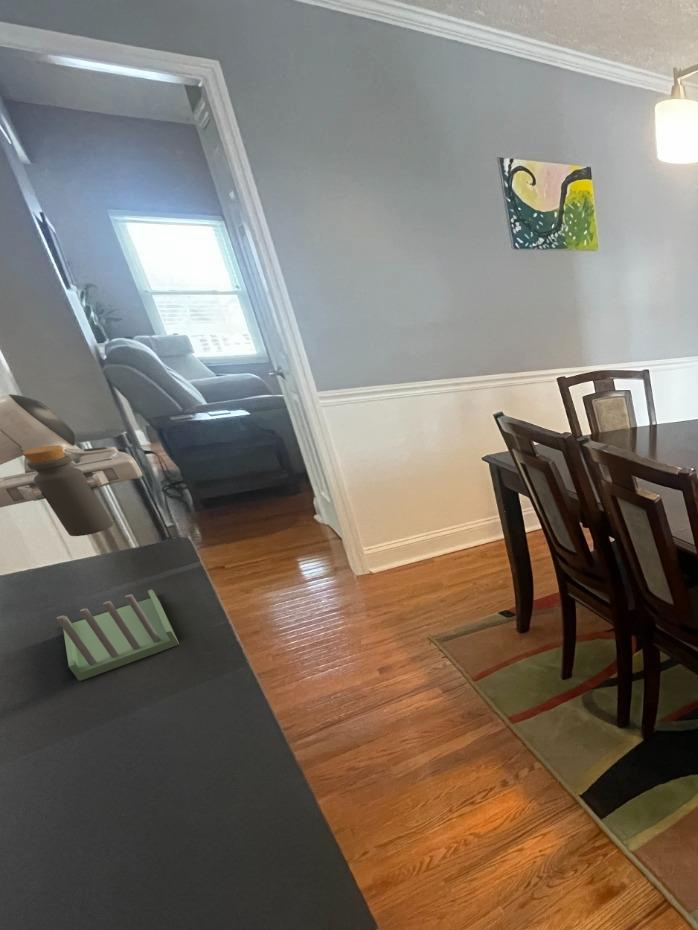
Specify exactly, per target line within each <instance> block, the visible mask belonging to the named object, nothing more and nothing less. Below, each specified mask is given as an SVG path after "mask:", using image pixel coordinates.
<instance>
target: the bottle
mask: <svg viewBox="0 0 698 930" xmlns="http://www.w3.org/2000/svg"><path fill="white" fill-rule="evenodd" d="M22 454H23V456H24V458H25V457H26V458H27V459H28V460H29V461H30V462H29V463H27V465H28V467H29V468H30V469H32V470H36V471H37V472H38V475H36V476H35V478H34V481H35V483H36V485H37V486H38V488H39V489H40V490H41V492H42V494H43V495H44V496H45V498H46V499H45V500H46V502H47V503H48V505H49V507H50V508H51V510H52V511H53V512H54V514H55V516H56V517H57V519H58V520H59V522H60V524H61V525H62V526H63V528H64V530H65V531H66V532H67V534H68V535H69V536H70V537H83V536H89V535H93V534H96V533H100V532H103V531H106V530H108V529H110V528H112V527H113V526H114V522H113V520H112V519H111V517H110V516H109V514H108V512H107V511H106V509H105V507H104V505H103V504H102V502H101V501H100V498H99V497H98V495H97V493H96V492H95V490H93V489H92V488H90V486H89V484H88V483H87V480H86V477H85V476H84V474H83V472H82V471H81V470H80V469H77V468H73V467H71V466H70V465H69V463H70V462H72V459H71V458H70V456H68V455H64V452H63V448H62V446H59V445H55V446H46V447H40V448H35V449H31V450H27V451H24V452H23V453H22Z"/></svg>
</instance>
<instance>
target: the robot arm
mask: <svg viewBox="0 0 698 930" xmlns="http://www.w3.org/2000/svg"><path fill="white" fill-rule="evenodd" d="M55 445H59V446H62V448H63V452H64V455H68V456H70V458H71V459H72V462H70V463H69V465H70V466H71V467H73V468H77V469H80V470H81V471H82V472H83V474H84V476H85V477H86V480H87V483H88V484H89V486H90V488H92V489H93V490H94V491H96V490H98V489H100V488H102V487H105V486H110V485H112V484H116V483H121V482H126V481H130V480H137V479H140V478H142V477H143V476H144V474H143V472H142V470H141V468H140V466H139V465H138V462H137V461H136V459H135V458H134V457H133V456H132V455H130V454H129V453H127V452H124V451H119V450H118V448H117V447H115V446H102V447H91V448H81V447H79V446H77V445H76V434H75V432H74V430H72V428H71V427H70V426H69V425H68V424H67V423H66V421H64V419H62V417H60V416H59V415H58V414H57V413H56V412H54V411H53V410H52V409H51V408H50V407H48V406H46V405H45V404H44V403H42V402H41V401H38V400H37V399H33V398H30V397H27V396H23V395H19V394H10V393H9V394H7V395H4V396H1V397H0V466H1V465H4V464H5V463H8V462H11V461H13V460H15V459H18V458H20V457H23V456H24V455H23V454H22V453H23V452H24V451H27V450H31V449H35V448H40V447H46V446H55ZM29 462H30V461H29V460H28V459H27V458H26V457H25V456H24V458H23V465H24V466H23V467H24V472H23V473H18V474H13V475H8V476H3V477H0V508H4V507H9V506H13V505H18V504H22V503H28V502H32V501H33V502H36V501H41V500H46V498H45V496H44V495H43V494H42V492H41V490H40V489H39V488H38V486H37V485H36V483H35V481H34V478H35V476H36V475H38V472H37V471H36V470H32V469H30V468H29V467H28V465H27V463H29Z"/></svg>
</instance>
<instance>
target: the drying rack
mask: <svg viewBox="0 0 698 930" xmlns="http://www.w3.org/2000/svg"><path fill="white" fill-rule="evenodd" d="M147 593H148V595H149V597H150V598H147V599H144V600H140V601H137V600H136V598H135V597H134V595H133V594H131V593H129V594H126V595H125V596H124V598H125V600H126V601H127V603H128V605H125V606H122V607H119V608H116V607H115V606H114V604H113V603H112V601H111V600H107V601H105V602H103V603H102V604H103V606H104V608H105V609H106V612H103V613H100V614H96V615H94V616H93V614H92V613H91V612H90V610H89V609H88V608H87V607H86V608H82V609H80V610H79V613H80V614H81V616H82V617H83V619H81V620H78V621H74V622H71V620H70V619H69V618H68V616H67V615H59V616H57V617H56V621H57V622H58V624H59V625H60V626H61V627H62V631H63V637H64V642H65V643H64V644H65V650H66V651H65V652H66V656H67V664H68V668H69V669H70V671H71V672H72V673H73V675H74V676H75V678H76V679H77V680H78V681H79V682H81V681H84V680H86V679H89V678H92V677H95V676H98V675H101V674H104V673H106V672H109V671H111V670H112V671H113V670H114V669H117V668H119V667H122V666H125V665H128V664H130V663H134V662H136V661H139V660H142V659H144V658H147V657H149V656H152V655H155V654H158V653H161V652H163V651H166V650H169V649H171V648H174V647H177V646H180V643H179V641H178V639H177V636H176V634H175V632H174V629H173V627H172V625H171V623H170V621H169V619H168V616H167V615H166V612H165V610H164V608H163V606H162V604H161V601H160V599H159V598H158V596H157V595H156V593H155V591H154V590H153V589H148V590H147Z"/></svg>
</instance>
